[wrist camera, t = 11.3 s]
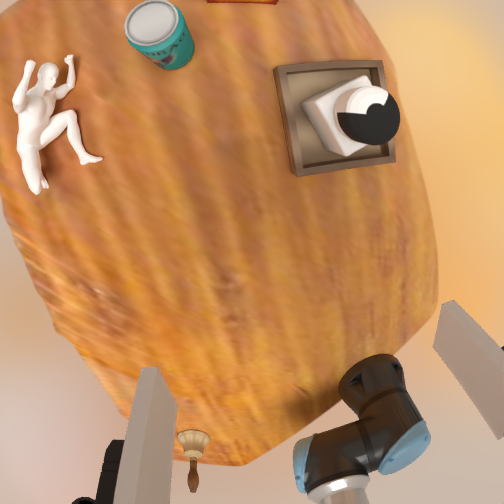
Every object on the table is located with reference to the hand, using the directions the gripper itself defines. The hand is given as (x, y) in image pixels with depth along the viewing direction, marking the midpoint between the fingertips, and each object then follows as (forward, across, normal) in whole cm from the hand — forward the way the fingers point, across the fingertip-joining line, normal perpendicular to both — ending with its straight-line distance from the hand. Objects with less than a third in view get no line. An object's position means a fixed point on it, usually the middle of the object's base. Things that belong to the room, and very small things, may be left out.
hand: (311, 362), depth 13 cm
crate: (+34, -14, -9) cm, 38 cm away
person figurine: (+34, +26, -17) cm, 46 cm away
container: (+33, -14, -9) cm, 37 cm away
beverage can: (+34, +7, -22) cm, 41 cm away
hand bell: (+35, +24, +57) cm, 71 cm away
